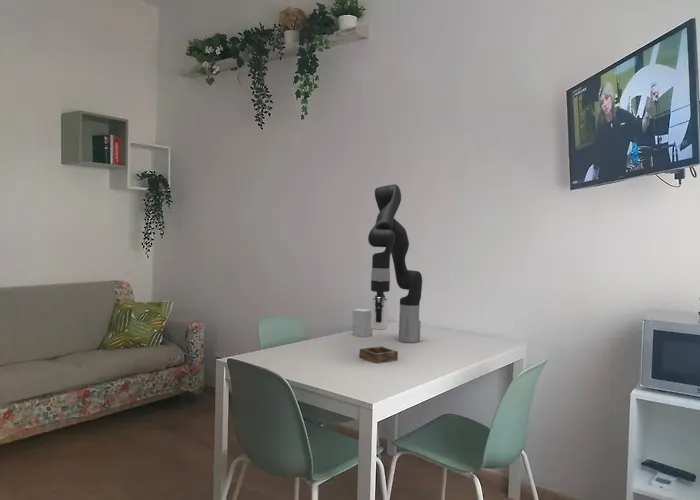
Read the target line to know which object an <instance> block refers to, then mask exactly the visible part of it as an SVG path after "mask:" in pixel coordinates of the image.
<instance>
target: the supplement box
mask: <svg viewBox="0 0 700 500" xmlns="http://www.w3.org/2000/svg"><path fill="white" fill-rule="evenodd" d="M371 311H372V309H367V308H357V309H352V325H351V327H352V328H351V329H352V331H351V335H352V336H355V337H361V338H365V337H370V336H373V329H372V328H371Z"/></svg>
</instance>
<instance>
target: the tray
mask: <svg viewBox="0 0 700 500" xmlns="http://www.w3.org/2000/svg"><path fill="white" fill-rule="evenodd" d="M398 354H399V351H397V350H395V349H391V348H389V347H384V346H382V345H381V346H373V347H366V348H359V353H358V355H359V357H358V358H359V359H362V360H365V361H367V362H371V363H373V364H380V363H382V364H383V363H388V362H394V361H395V362H396V361H398V360H399V359H398V358H399V357H398V356H399V355H398Z"/></svg>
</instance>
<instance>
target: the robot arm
mask: <svg viewBox="0 0 700 500" xmlns="http://www.w3.org/2000/svg"><path fill="white" fill-rule="evenodd" d="M374 198H375V202H376V204H377V207H378V214H377V217H376V220H375V224H374V225H373V227H372V228H371V230H370V231H369V234H368V236H367V240H368V244H369V245H370V246H371V247H373V248H385V249H384V251H381V252H376V253H373V254H372V261H371V264H372V266H371V275H370V291H372V292H375V293H376V295H374V298H375V312H376V322H379V323H380V322H381V321H382V308H383V307H384V300H385V299H386V295H385V293H388V292H390V289H391V287H390V285H391V269H390V268H391V267H390V264H391V259H392V262H393V268H394V273H395V274H394V275H395V279H396V280H395V281H396V285H397V286H398V287H399V288H400V289H402V290H405V291H408V293H407V295H405V296H403V297H402V296H401V297H400V298H399V315H398V316H399V320H398V341H399V342H401V343H418V342H420V341H421V324H422V323H421V322H422V321H421V320H420V304H421V303H420V302H421V300H422V299H421V298H422V289H423V276H422V273H421V272H420V271H418V270H411V269H408V267H407V265H406V256H407V253H408V250H409V246H410V242H409V237H408V233H407V230H406V228H405V227H404V226H403V225H402V224H401V223H400V222H399V221H398V220H396V218H395V215H396V213H397V211H398V210H399V207H400V206H401V205H400V204H401V202H402V192H401V189H400V187H399V185H397V184H387V185H384V186H378V187H376V188H375V189H374ZM391 257H392V258H391ZM378 302H379V303H378ZM377 307H380V309H377Z"/></svg>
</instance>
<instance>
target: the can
mask: <svg viewBox="0 0 700 500" xmlns="http://www.w3.org/2000/svg"><path fill="white" fill-rule="evenodd" d="M378 303H379V302H378ZM388 306H389V303H388V299H387V298H385V300H384V307H383V308H382V321H381V322H380V323H379V322H376V312H375V297H374V298H372V301H371V310H372V311H371V328H372V330H375V331H384V330H387V329H388V317H389V316H388V313H389V310H388V309H389V307H388ZM377 309H380V307H377Z"/></svg>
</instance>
